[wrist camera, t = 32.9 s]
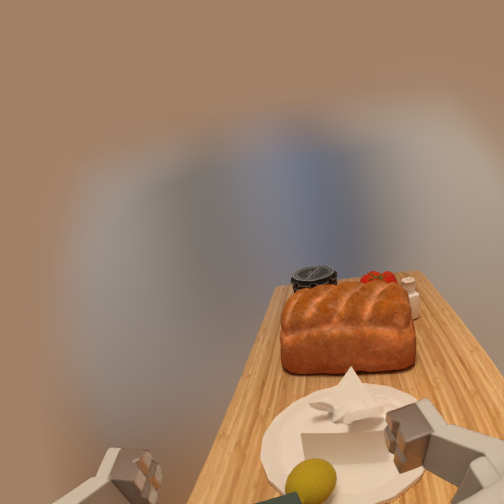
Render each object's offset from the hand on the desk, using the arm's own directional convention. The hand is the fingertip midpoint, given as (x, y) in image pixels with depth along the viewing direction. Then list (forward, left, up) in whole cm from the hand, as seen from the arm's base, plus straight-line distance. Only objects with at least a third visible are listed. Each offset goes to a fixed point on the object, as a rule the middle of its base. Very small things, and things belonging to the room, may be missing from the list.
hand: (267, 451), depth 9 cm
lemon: (+4, +17, -25) cm, 30 cm away
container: (+16, +71, -28) cm, 78 cm away
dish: (+9, +22, -28) cm, 37 cm away
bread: (+16, +44, -28) cm, 55 cm away
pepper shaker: (+34, +52, -28) cm, 68 cm away
